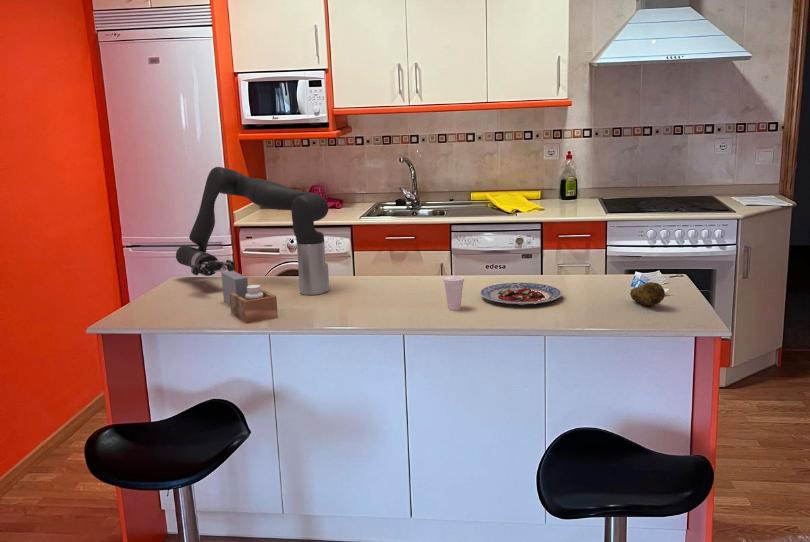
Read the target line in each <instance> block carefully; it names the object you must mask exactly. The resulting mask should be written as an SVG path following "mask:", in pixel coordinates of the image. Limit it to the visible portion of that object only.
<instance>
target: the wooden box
mask: <svg viewBox="0 0 810 542" xmlns="http://www.w3.org/2000/svg"><path fill="white" fill-rule="evenodd" d="M260 289H261V290H260V292H262V293H263V297H264V298H258V299H252V300H246V299H244V298H242V297H240V296H239V295H237V294H235V293H230V305H231V306H230V305H229V306H230V314H232V315H233V316H235V317H236V318H237V319H239V320H241V321H242V322H244V323H245V324H249V323H254V322H261V321H266V320H270V319H275V318H279V316H278V315H279V313H278V304H277V303H278V302H277V299H278V298H277V296H276V295H275V294H273V293H272V292H271V293H270V292H268V291H267V290H264V289H263V288H261V287H260Z"/></svg>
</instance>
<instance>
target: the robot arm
mask: <svg viewBox="0 0 810 542" xmlns="http://www.w3.org/2000/svg"><path fill="white" fill-rule="evenodd" d="M219 194H222V195H230V196H238V197H243V198H246V199H248V200H249V201H250V202H251V203H252V204H254V205H257V206H260V207H263V208H266V209H269V210H270V209H271V210H276V211H291V219H292V220H291V222H292V229H293V234H294V237H295V240H296V252H297V253H296V254H297V266H298V267H297V268H298V282H299V284H298V285H299V293H300V294H302V295H304V296H305V295H306V296H313V295H320V294H321V295H322V294H325V293H327V292H330V279H329V276H330V275H329V265H328V263H327V262H326V249H325V235H324V233H323V232H322V231H319V230H316V229H315V222H318V221H320V220H322V219H324V218H326V216H327V214H328V212H329V204H328V202H327V200H326V199H325V198H324V196H322V195H321V194H319V193H316V192H315V193H314V192H308V191H301V190H297V189H294V188H292V187H290V186H289V187H288V186H286V185H282V184H280V183H277V182H274V181H270V180H267V179H263V178H254V177H253V178H252V177H249V176H247V175H244V174H243V173H240V172H238V171H236V170H235V169H230V168H228V167H221V166H215V167H213V168H212V169H211V170H210V171H209V173H208V175H207V178H206V182H205V185H204V190H203V194H202V197H201V198H202V199H201V202H200V205H199V210H198V213H197V216H196V219H195V221H194V224H193V225H192V226H193V227H192V229H191V230H190V233H189V237H188V239H189V240H190V241H191V242H192V243H194V244H196V245H198V247H197V248H196V247H192V246H190V245H189V246H188V245H181V246H180V247H179V248H177V250H176V253H175V259H176V261H177V262H178V263H179V264H180V265H183V266H187V267H190V271H191V274H192V275H194V276H198V275H201V276H206V277H208V276H209V277H210V276H213V275H215V274H216V273H218V272H219V273H220V272H228V271H235V270H236V268H237V267H236V262H235V261H233V260H229V259H226V260H225V261H223V260H221V261H220V260H219V259H218V258H217V257H216V256H215V255H213V254H211V253H209V252H207V250H208V245H209V244H208V243H209V241H210V238H211V236H212V233H213V231H214V229H215V226H216V214H215V204H216V200H217V198H218V196H219Z"/></svg>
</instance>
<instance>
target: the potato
mask: <svg viewBox="0 0 810 542" xmlns="http://www.w3.org/2000/svg"><path fill="white" fill-rule="evenodd" d="M665 294H666V292H665V288H664V287H663V286H662V285H661V284H660V283H658V282H650V281H649V282H644V283H643V284H641V285H638V286H636V287H634V288H632V289H631V290H630V293H629V295H630V298H631V299H632V300H633V301H634V302H636V301H638V302H637V303H639V304H641V303H642V305H643V304H645V305H644V306H647V305H653V306H655V305H658V304H661V302H662V301H663V300H664V298H665V297H666V296H665Z"/></svg>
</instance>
